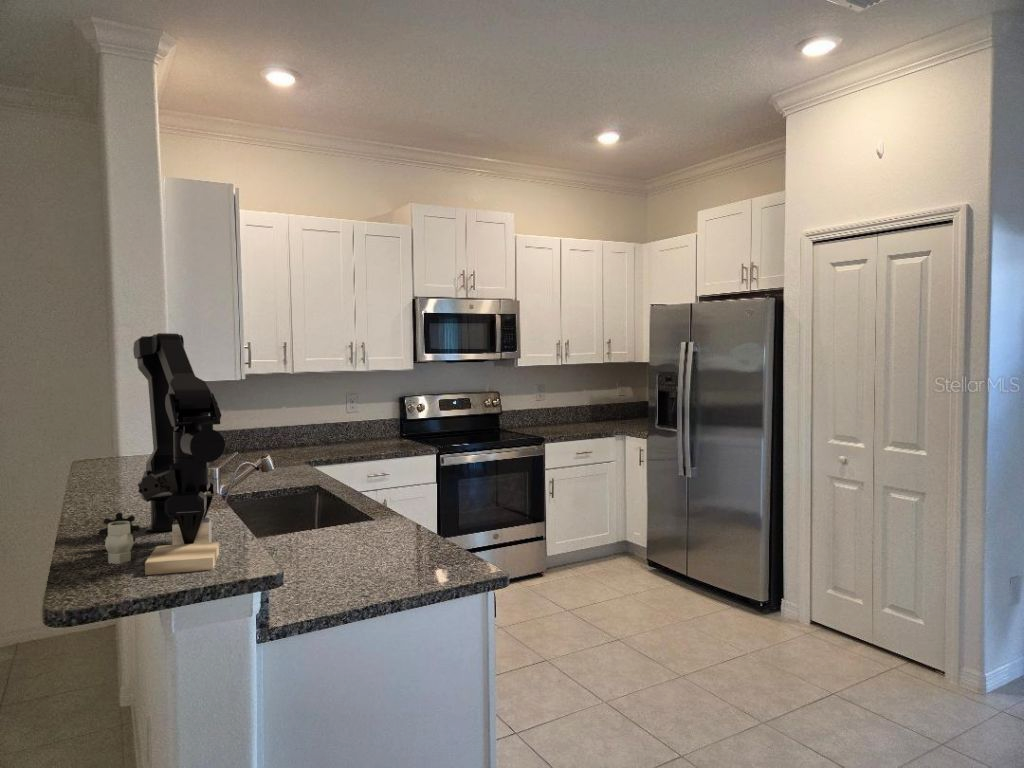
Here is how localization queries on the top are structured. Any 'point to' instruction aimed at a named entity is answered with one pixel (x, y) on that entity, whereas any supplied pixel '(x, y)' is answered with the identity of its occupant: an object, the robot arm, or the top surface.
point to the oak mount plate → (182, 558)
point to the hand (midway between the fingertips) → (192, 541)
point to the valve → (119, 538)
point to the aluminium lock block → (202, 535)
